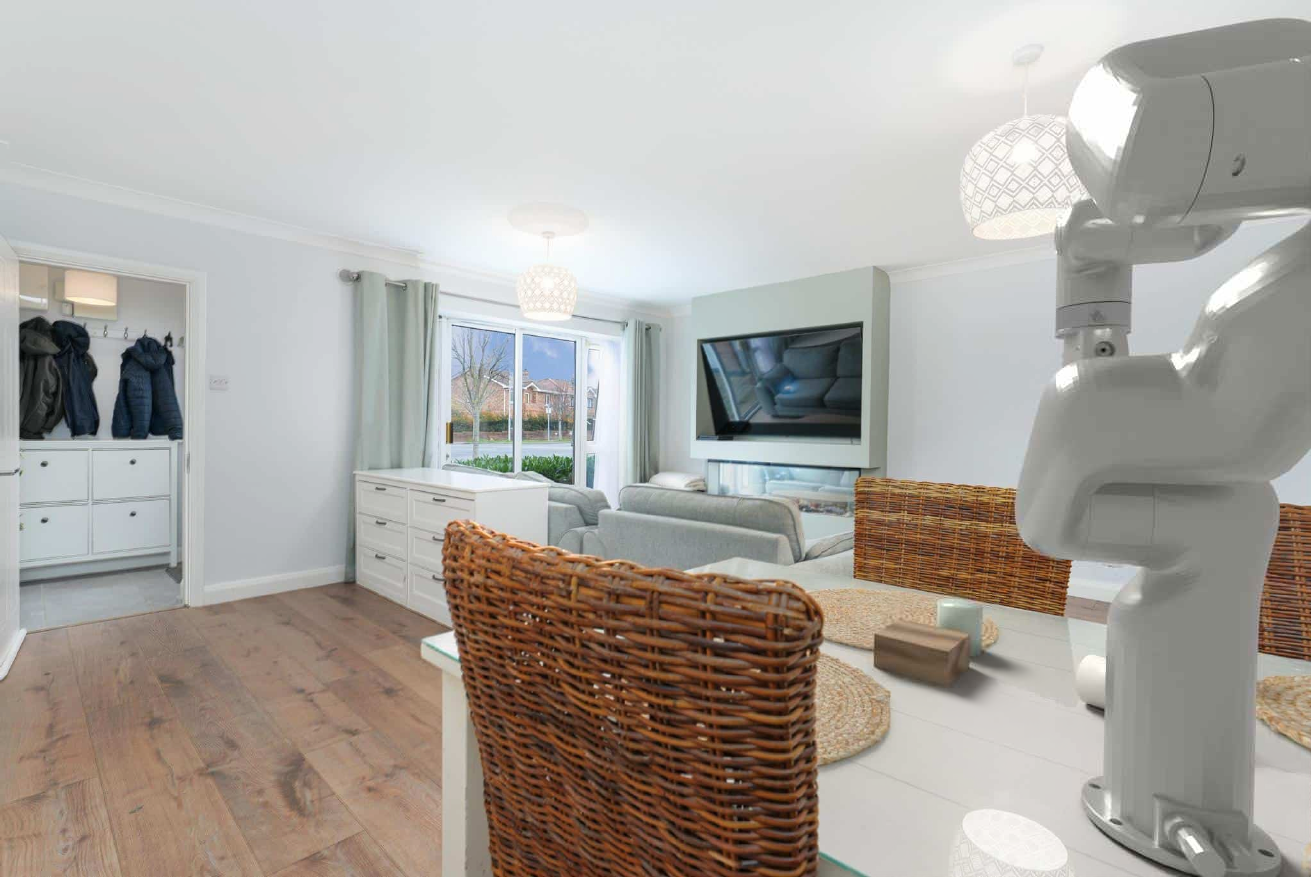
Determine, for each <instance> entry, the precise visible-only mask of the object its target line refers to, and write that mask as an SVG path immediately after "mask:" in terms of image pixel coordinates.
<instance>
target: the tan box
mask: <svg viewBox="0 0 1311 877" xmlns="http://www.w3.org/2000/svg"><path fill="white" fill-rule="evenodd" d="M873 637H874V638H873V667H874V668H878V669H881V670H884V671H888V672H892V673H895V674H899V675H903V676H906V677H909V678H914V679H916V680H921V681H924V682H928V683H932V684H935V685H938V686H942V687H945V688H948V687H949V686H950V685H951V684H953V682H954V681H956V680H957V679H958V678H959V677H960V676H961V675H962V674H963V673H964V672H966V670H967V669H968V668H970V657H971V656H970V634H966V633H962V632H957V631H952V630H948V629H943V628H939V627H937V626H933V625H930V624H929V625H928V624H924V623H920V622H917V621H916V622H915V621H911V620H907V619H902V618H900V619H898V620H896V621H894V622H893V623H891V624H889V625H887V626H885V627H884V628H883V629H880V630H879V631H876V632H875V633H873Z"/></svg>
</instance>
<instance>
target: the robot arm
mask: <svg viewBox="0 0 1311 877" xmlns="http://www.w3.org/2000/svg"><path fill="white" fill-rule="evenodd" d="M1065 148H1066V154H1067V157H1068V161H1069V163H1070V165H1071V168H1072V170H1073V171H1074V173H1075V175H1076V177H1077V178H1078V179H1079V181H1080V182H1081V184H1082V185H1083V187H1084V188H1085V190H1086V192H1087V193H1088V194H1089V196H1090V198H1087V199H1086V198H1085V199H1082V200H1079V201H1076V202H1074V203H1073V204H1071V205H1070V206H1068V207H1067V208H1066V210H1065V211H1064V212H1063V214H1062V215H1061V217H1058V218H1057V221H1056V223H1055V224H1056V225H1055V229H1054V238H1053V242H1054V250H1055V254H1056V282H1055V284H1056V285H1055V286H1056V288H1055V289H1056V290H1055V330H1054V331H1055V332H1054V335H1055V336H1054V338H1055V339H1057V340H1063V342H1064V343H1063V351H1062V355H1061V356H1062V362H1061V363H1062V365H1061V369H1059V370H1058V371H1057V372H1056V373H1055V374H1054V375H1053V376H1052V377H1051V378H1050V379H1049V381H1048V383H1047V384H1046V385H1045V388H1044V391H1043V392H1042V395H1041V398H1040V400H1039V405H1038V406H1037V411H1036V414H1035V418H1034V420H1033V425H1032V428H1031V431H1030V432H1031V434H1030V437H1029V440H1028V445H1027V449H1026V452H1025V456H1024V460H1023V463H1022V467H1021V471H1020V474H1019V477H1018V478H1019V479H1018V483H1017V488H1016V493H1015V501H1014V520H1015V521H1014V522H1015V525H1016V528H1017V531H1018V534H1019V536H1020V538H1021V539H1022V541H1023V542H1024V543H1025V545H1027V547H1028V548H1030V549H1031V550H1033V551H1034V552H1036V553H1037V554H1039V555H1042V556H1045V557H1049V558H1053V559H1060V560H1066V561H1067V560H1069V561H1077V562H1089V563H1090V562H1091V563H1103V564H1104V563H1105V564H1112V565H1113V564H1114V565H1128V566H1132V567H1141V568H1140V569H1139V570H1138V571H1137V572H1136V573H1135V574H1134V575H1133V576H1132V577H1131V578H1130V579H1128V581H1127V582H1126V583H1125V584H1124V585H1123V586H1122V588H1121V589H1119V591H1118V592H1117V593H1116V594H1115V596H1114V597H1113V599H1112V602H1111V603H1110V606H1109V609H1108V611H1107V618H1106V641H1105V643H1106V644H1105V648H1106V649H1105V658H1106V680H1105V709H1104V731H1103V733H1104V734H1103V736H1104V737H1103V772H1102V774H1103V775H1101V776H1096V777H1093V778H1090V779H1088V780H1087V781H1085V782H1084V783H1083V784H1082V788H1081V790H1080V792H1081V794H1080V795H1081V796H1080V801H1081V802H1080V803H1081V805H1082V808H1083V810H1084V812H1085V813H1086V815H1087V816H1088V818H1089V819H1090V820H1091V821H1092V822H1093V823H1094V824H1095V825H1096V826H1097V827H1098V828H1100V829H1101V830H1102V831H1103V832H1104V833H1105V834H1107V835H1108V836H1110V837H1111V839H1114V840H1115V841H1117V842H1118V843H1120V844H1122V845H1124V846H1125V847H1126V848H1128V849H1130V850H1132V851H1134V852H1136V853H1138V854H1139V855H1140V856H1141V855H1142V856H1144V857H1145V858H1148V859H1150V860H1151V861H1152V860H1153V861H1155V862H1157V863H1159V864H1161V865H1164V866H1166V867H1170V868H1172V869H1174V870H1177V871H1180V872H1183V873H1187V874H1190V875H1194V876H1197V877H1278V876H1279V874H1280V872H1281V870H1282V854H1281V853H1282V852H1281V850H1280V848H1279V846H1278V845H1277V843H1276V842H1275V841H1274V840H1273V839H1272V837H1271V836H1270V835H1269V834H1268V833H1267V832H1265V831H1264V830H1263V829H1262V828H1261V827H1260V826H1258V824H1256V823H1255V822H1254V819H1255V818H1254V815H1255V814H1254V813H1255V809H1254V808H1255V776H1256V774H1255V773H1256V772H1255V771H1256V769H1255V768H1256V761H1255V760H1256V738H1257V737H1256V732H1257V731H1256V728H1257V691H1258V690H1257V688H1258V661H1259V657H1258V656H1259V633H1260V632H1259V631H1260V630H1259V629H1260V616H1261V603H1262V596H1263V591H1264V590H1263V589H1264V585H1265V579H1266V574H1267V571H1268V566H1269V562H1270V559H1271V555H1272V553H1273V552H1272V551H1273V549H1274V546H1275V543H1276V539H1277V533H1278V531H1279V526H1280V518H1281V517H1280V516H1281V515H1280V512H1281V511H1280V510H1281V509H1280V503H1279V497H1278V493H1277V492H1276V489H1275V487H1274V486H1273V484H1272V483H1271V482H1272V481H1273V480H1276V479H1278V478H1280V477H1282V476H1283V475H1285V474H1286V473H1288V472H1289V471H1291V470H1292V469H1293V468H1294V467H1295V466H1296V465H1297V464H1298V463H1299V462H1300V461H1302V460H1303V458H1304V457H1305V456H1306V455H1307V454H1308V453H1309V451H1310V450H1311V21H1309V20H1306V19H1301V18H1291V17H1275V18H1264V19H1256V20H1255V19H1254V20H1249V21H1243V22H1236V23H1232V24H1226V25H1221V26H1216V27H1210V28H1205V29H1199V30H1193V31H1190V32H1189V31H1188V32H1184V33H1179V34H1171V35H1166V36H1162V37H1161V36H1160V37H1156V38H1155V37H1154V38H1151V39H1145V40H1139V41H1133V42H1131V43H1128V44H1124V45H1121V46H1120V47H1116V48H1114V49H1112V50H1110V51H1109V52H1108V53H1106V54H1105V55H1103V56H1102V57H1101V58H1099V60H1097V62H1095V63H1094V64H1093V65H1092V66H1091V68H1090V69H1089V70H1088V72H1086V74H1085V76H1084V77H1083V79H1082V80H1081V82H1080V84H1079V85H1078V87H1077V89H1076V91H1075V93H1074V95H1073V98H1072V100H1071V103H1070V107H1069V109H1068V114H1067V119H1066V124H1065ZM1308 215H1310V217H1309V220H1308V221H1307V222H1306V223H1305V225H1304V226H1302V227H1301V228H1300V229H1298V230H1297V231H1296V232H1293V233H1292V234H1291V235H1289V236H1288V237H1285V238H1283V239H1282V240H1280V241H1279V242H1277V243H1276V244H1274V245H1272V246H1271V247H1269V248H1267V249H1266V250H1264V251H1262V252H1261V253H1260V254H1258V255H1257V256H1255V257H1254V258H1253V259H1251V260H1250V261H1248V262H1247V263H1246V264H1245V265H1244V266H1242V268H1240V269H1239V270H1237V271H1236V272H1235V273H1234V274H1233V275H1232V276H1230V277H1229V278H1228V279H1227V280H1226V281H1224V282H1223V283H1222V284H1221V285H1220V286H1219V287H1218V288H1217V289H1216V290H1215V291H1214V292H1213V293H1212V295H1210V296H1209V298H1208V299H1207V301H1206V302H1205V303H1204V305H1203V306H1202V308H1201V310H1200V313H1199V314H1198V316H1197V319H1196V322H1195V323H1194V326H1193V328H1192V331H1191V334H1190V335H1189V337H1188V339H1187V340H1186V342H1185V344H1184V345H1183V347H1181V348H1180V349H1177V350H1175V351H1171V352H1166V353H1163V354H1162V353H1161V354H1150V355H1148V354H1147V355H1130V350H1129V340H1128V335H1129V334H1131V333H1132V303H1133V302H1132V300H1133V298H1132V296H1133V266H1135V265H1150V264H1164V263H1165V264H1167V263H1177V262H1178V263H1179V262H1186V261H1191V260H1193V259H1194V260H1195V259H1196V258H1199V257H1202V256H1204V255H1206V254H1208V253H1209V252H1211V251H1213V250H1214V249H1216V248H1217V247H1218V246H1220V245H1221V244H1223V243H1224V242H1226V241H1227V240H1228V239H1230V238H1231V237H1232V236H1233V235H1234V234H1235V233H1236V232H1237V231H1238V230H1239V228H1240V227H1241V225H1242V223H1243V221H1244V222H1246V221H1256V220H1257V221H1258V220H1267V219H1276V218H1286V217H1287V218H1288V217H1297V216H1300V217H1301V216H1308ZM1270 481H1271V482H1270Z"/></svg>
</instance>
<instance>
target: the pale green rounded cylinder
mask: <svg viewBox="0 0 1311 877" xmlns="http://www.w3.org/2000/svg"><path fill="white" fill-rule="evenodd" d="M936 603H937V607H936V609H937V610H936V627H939V628H943V629H948V630H952V631H957V632H962V633H966V634H970V657H975V656H980V655H981V654H983V650H982V649H983V618H984V617H983V616H984V615H983V608H984V606H983V605H981V604H980V603H977V602H975V601H970V600H964V599H961V598H960V599H958V598H942V599H938V600H937V601H936Z"/></svg>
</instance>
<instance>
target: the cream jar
mask: <svg viewBox="0 0 1311 877" xmlns="http://www.w3.org/2000/svg"><path fill="white" fill-rule="evenodd" d="M1076 671H1077V672H1076V675H1075V676H1076V677H1075V688H1076V693H1077V696H1078V698H1079V700H1080V701H1081V702H1083V703H1085V704H1088V705H1091V706H1093V707H1096V708H1099V709H1102V710H1105V680H1106V657H1103V656H1099V655H1096V654H1093V653H1092V654H1088V655H1086V656H1085V657H1084V658H1083V659H1082V660H1081V662H1080V664H1079V666H1078V668H1077V670H1076Z"/></svg>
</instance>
